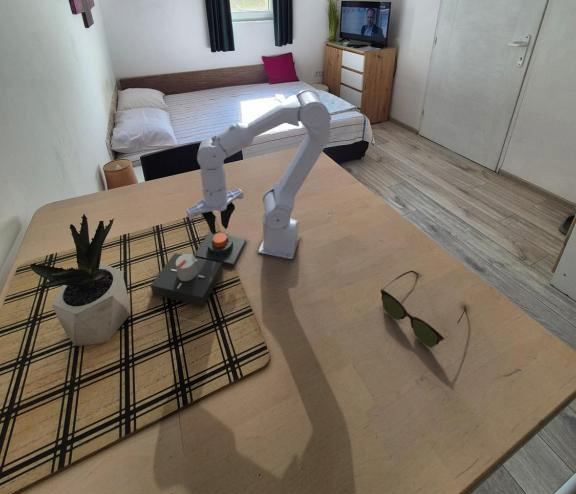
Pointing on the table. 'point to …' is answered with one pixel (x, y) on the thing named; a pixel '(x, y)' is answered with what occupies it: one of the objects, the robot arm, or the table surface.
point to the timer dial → (186, 267)
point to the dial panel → (187, 282)
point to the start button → (219, 240)
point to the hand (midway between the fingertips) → (218, 229)
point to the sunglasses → (412, 318)
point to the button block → (221, 250)
